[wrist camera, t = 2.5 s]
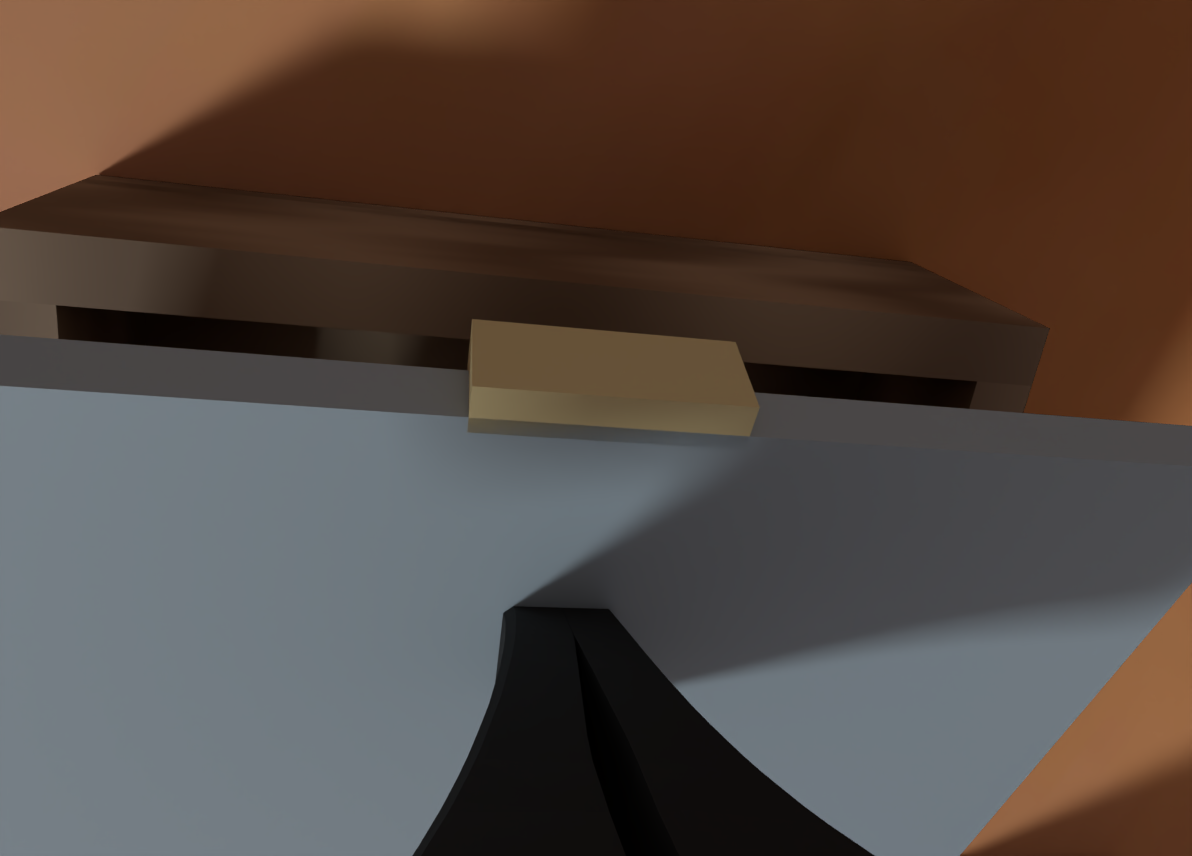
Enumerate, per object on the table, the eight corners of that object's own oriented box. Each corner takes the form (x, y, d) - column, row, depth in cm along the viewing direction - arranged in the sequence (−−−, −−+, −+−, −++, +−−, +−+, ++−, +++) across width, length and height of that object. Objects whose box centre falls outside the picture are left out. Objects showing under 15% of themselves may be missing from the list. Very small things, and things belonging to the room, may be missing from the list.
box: (910, 262, 20) (1050, 328, 15) (794, 722, 24) (875, 880, 20) (95, 175, 17) (-33, 224, 12) (128, 716, 21) (42, 900, 17)
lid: (1242, 386, 12) (1305, 447, 11) (883, 863, 20) (902, 921, 19) (-247, 256, 9) (-327, 327, 8) (30, 880, 17) (5, 952, 16)
